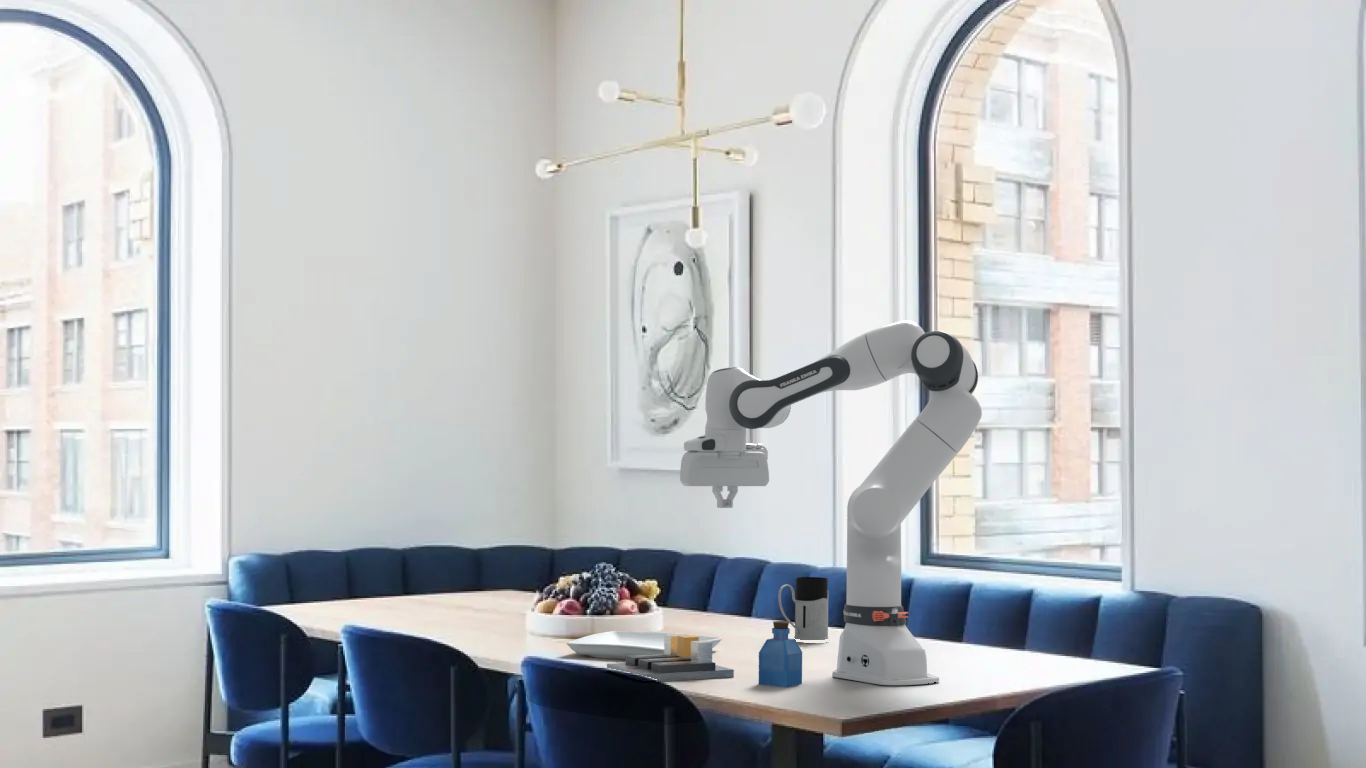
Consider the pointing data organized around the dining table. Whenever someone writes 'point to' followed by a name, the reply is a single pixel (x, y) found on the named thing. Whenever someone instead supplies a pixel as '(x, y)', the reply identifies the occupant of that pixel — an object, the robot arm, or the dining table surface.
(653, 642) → the square plate
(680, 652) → the handle
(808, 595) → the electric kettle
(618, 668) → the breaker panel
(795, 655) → the blue glass bottle
